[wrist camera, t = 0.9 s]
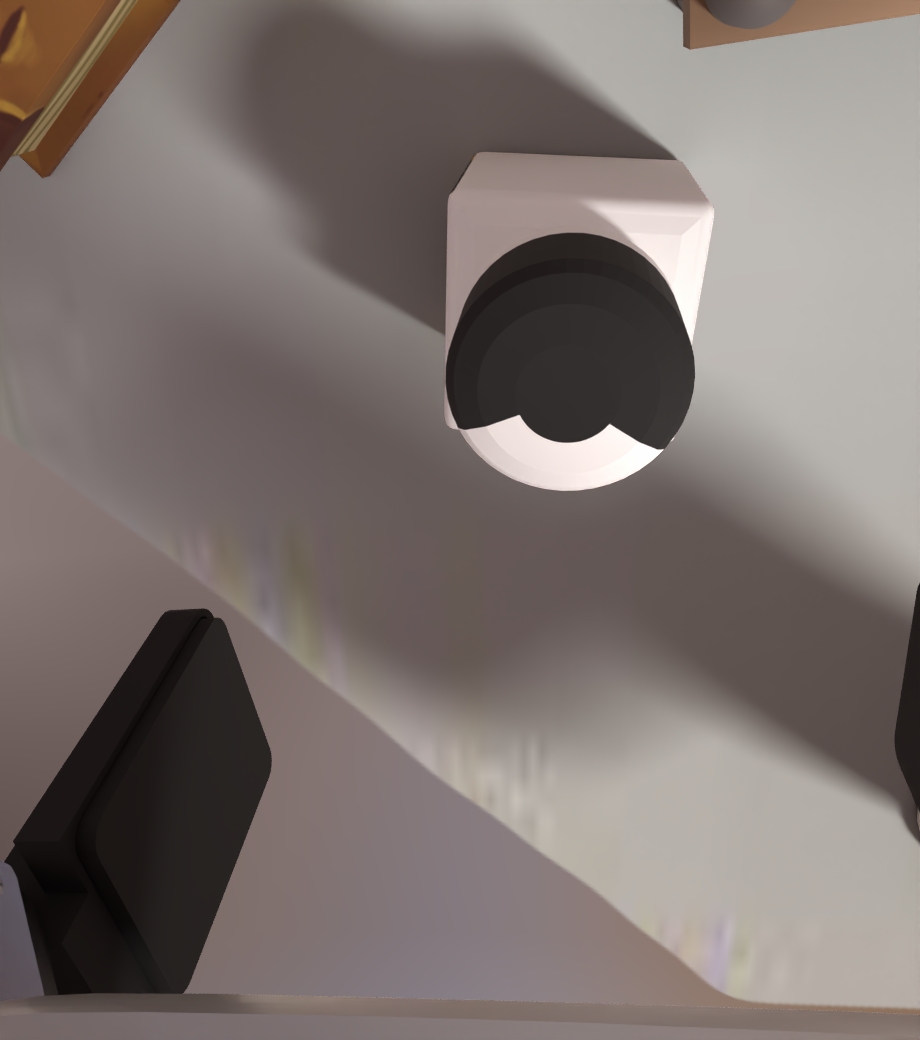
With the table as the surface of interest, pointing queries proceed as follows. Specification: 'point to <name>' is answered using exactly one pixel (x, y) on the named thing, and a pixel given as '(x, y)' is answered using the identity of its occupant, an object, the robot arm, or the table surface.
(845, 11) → the shelf stand
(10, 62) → the diary
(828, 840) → the table surface
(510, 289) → the medicine bottle
